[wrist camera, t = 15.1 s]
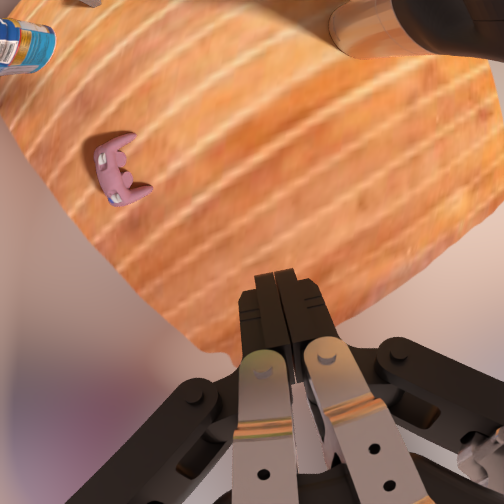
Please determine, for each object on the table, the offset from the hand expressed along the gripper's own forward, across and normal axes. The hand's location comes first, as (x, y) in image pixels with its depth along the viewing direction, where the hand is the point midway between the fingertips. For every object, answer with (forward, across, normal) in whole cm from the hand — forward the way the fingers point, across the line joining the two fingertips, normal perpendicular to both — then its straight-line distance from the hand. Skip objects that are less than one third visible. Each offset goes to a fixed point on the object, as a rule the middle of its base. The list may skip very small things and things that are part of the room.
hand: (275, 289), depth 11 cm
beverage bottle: (+32, +27, -25) cm, 49 cm away
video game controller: (+32, +16, 0) cm, 36 cm away
